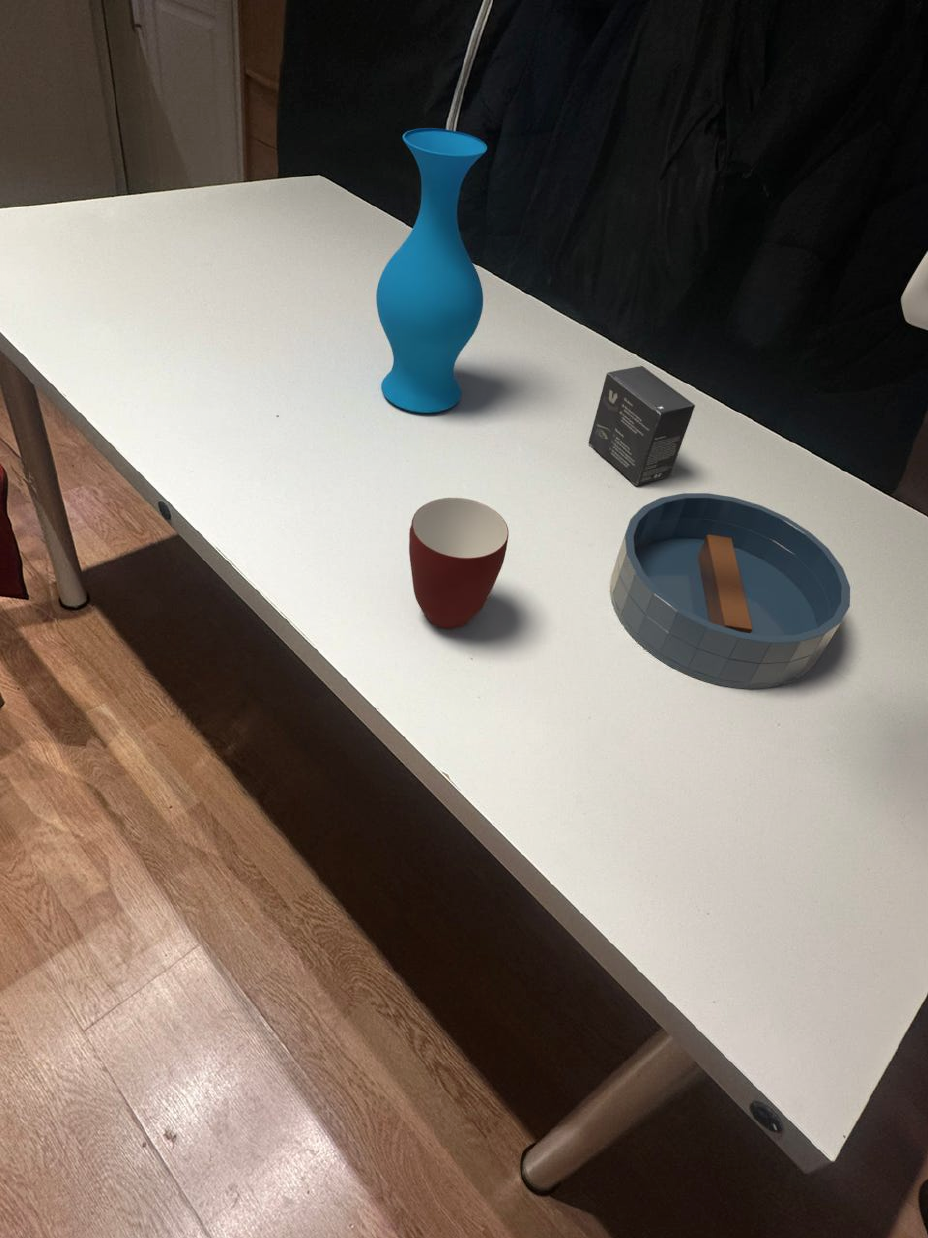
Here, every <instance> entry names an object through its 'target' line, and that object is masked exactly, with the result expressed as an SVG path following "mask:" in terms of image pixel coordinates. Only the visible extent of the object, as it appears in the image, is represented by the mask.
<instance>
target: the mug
mask: <svg viewBox="0 0 928 1238" xmlns="http://www.w3.org/2000/svg"><path fill="white" fill-rule="evenodd" d="M508 541H509V527H508V525H507V522H506V521H505V519H504V517H502V515H501V514H500V513H498V512H497V511H496V510H495V509H493V508H492V507H490V506H488V505H487V504H484V503H482V502H479V501H476V500H473V499H468V498H463V497H443V498H438V499H434V500H431V501H429V502H426V503H425V504H423V505H422V506H420V507H419V508H418V509H417V510H416V511H415V513H414V514H413V516H412V519H411V524H410V527H409V535H408V554H409V564H410V572H411V580H412V588H413V593H414V594H413V595H414V597H415V600H416V603H417V604H418V606H419V608H420V610H421V611H422V613H423V615H424V616H425V618H426V619H427V620H428V621H429V622H430V623H431V624H432V625H433V626H435V627H437V628H440V629H444V630H456V629H459V628H462V627H464V626H465V625H467V624H468V623H469V622H470V621H471V620H473V619H474V618H475V617H476V616H477V615H478V614H479V613H480V611H481V610H483V608H484V606H485V605H486V603H487V601H488V599H489V597H490V595H491V592H492V590H493V588H494V586H495V583H496V581H497V579H498V577H499V574H500V573H501V569H502V567H503V564H504V561H505V557H506V553H507V547H508V543H509V542H508Z"/></svg>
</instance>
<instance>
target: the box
mask: <svg viewBox="0 0 928 1238" xmlns="http://www.w3.org/2000/svg"><path fill="white" fill-rule="evenodd" d="M695 409H696V405H695V404H694V403H693V402H692V401H691V400H689V399H688V398H686V397H685V396H683V395H682V394H681V393H680V392H678V391H677V390H675V389H674V388H673V387H672V386H670V385H669V384H667V383H666V382H665V381H664V380H662V379H661V378H660V377H658V376H657V375H655V374H654V373H653V372H651V371H650V370H649V369H647V368H646V367H645V366H643V365H640V366H633V367H628V368H623V369H618V370H613V371H609V372H606V376H605V379H604V383H603V387H602V391H601V394H600V397H599V402H598V405H597V409H596V413H595V416H594V420H593V424H592V427H591V431H590V435H589V439H588V443H587V444H588V446H589V447H590V448H592V449H594V450H595V451H597V453H598V454H600V455H601V456H602V457H603V458H604V459H605V460H606V461H608V462H609V463H610V464H611V465H612V466H613V467H615V468H616V469H617V471H619V472H620V473H621V474H623V476H624V477H626V478H627V479H628V480H629V481H630V482H631V484H633V485H634V486H640V485H642V484H646V483H649V482H650V483H651V482H654V481H657V480H661V479H664V478H668V477H670V476H671V475H672V471H673V469H674V466H675V464H676V461H677V458H678V455H679V452H680V449H681V447H682V444H683V441H684V439H685V436H686V433H687V430H688V427H689V424H690V422H691V419H692V417H693V412H694V410H695Z"/></svg>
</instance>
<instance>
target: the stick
mask: <svg viewBox="0 0 928 1238" xmlns="http://www.w3.org/2000/svg"><path fill="white" fill-rule="evenodd" d="M698 561H699V567H700V572H701V578H702V583H703V589H704V595H705V600H706V606H707V611H708V617H709V622H711V623H714V624H718V625H721V626H724V627H727V628H730V629H733V630H736V631H739V632H745V633H751V631H752V624H751V620H750V616H749V611H748V607H747V603H746V598H745V594H744V590H743V585H742V581H741V577H740V572H739V568H738V564H737V559H736V555H735V551H734V546H733V542H732V538H728V537H722V536H715V535H709V534H707V536H706V538H705V541H704V543H703V546H702V548H701V550H700V553H699V555H698Z"/></svg>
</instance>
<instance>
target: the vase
mask: <svg viewBox="0 0 928 1238" xmlns="http://www.w3.org/2000/svg"><path fill="white" fill-rule="evenodd" d="M402 140H403V142H404V143H405V145H406V146H407V148H408V149H409V151H410V153H411V154H412V155H413V157H414V159H415V160H414V161H415V162H416V164H417V167H418V170H419V173H420V174H419V175H420V180H421V198H420V207H419V211H418V215H417V218H416V220H415V223H414V225H413V227H412V229H411V231H410V233H408V236H407V237H406V239H405V240H404V242H403V243H402V244H401V246H399V248H398V249H397V250H396V251H395V252H394V254H392V256H391V258H390V259H389V260H388V261H387V263H386V265H385V266H384V268H383V270H382V272H381V274H380V277H379V279H378V283H377V287H376V297H375V298H376V299H375V300H376V301H375V302H376V310H377V315H378V319H379V322H380V325H381V327H382V329H383V330H382V331H383V332H384V335H385V336H386V339H387V341H388V343H389V346H390V348H391V352H392V357H393V362H392V367H391V370H390V371H389V372H388V373H387V374H386V375H385V376H384V378H383V379H382V381H381V384H380V390H381V392H382V395H383V396H384V397H385V398H386V399H387V400H388V401H389V402H391V403H392V404H393V405H394V406H397V407H398V408H400V409H403V410H405V411H409V412H413V413H421V414H432V413H433V414H434V413H440V412H443V411H446V410H448V409H450V408H453V407H454V406H455V405H457V404H458V402H459V401H460V400H461V397H462V390H461V387H460V385H459V383H458V381H457V380H456V378H455V373H454V372H455V366H456V365H455V364H456V363H457V360H458V358H459V356H460V354H461V353H462V351H463V350H464V348H466V346H467V344H468V343H469V341H470V340H471V338H472V337H473V335H474V334H475V332H476V330H477V329H478V326H479V323H480V320H481V317H482V313H483V310H484V309H483V308H484V291H483V286H482V283H481V282H482V281H481V279H480V276H479V273H478V270H477V269H476V267H475V264H474V263H473V261H472V259H471V258H470V257H471V256H470V255H469V254H468V251H467V250H466V247H465V244H464V242H463V239H462V236H461V233H460V229H459V223H458V203H459V196H460V191H461V187H462V184H463V182H464V179H465V177H466V176H467V173H468V172H469V170H470V168H472V166H473V165H474V164H475V162H476V161H478V159H480V158H481V157H482V156H483V155H484V154H485V153H486V152H487V150H488V146H487V144H486V143H485V142H484V141H482V139H479V138H478V137H475V136H473V135H472V134H471V135H470V134H468V133H464V132H460V131H457V130H451V129H445V128H436V127H435V128H433V127H424V128H422V127H421V128H416V129H411V130H408V131H406V132H405V133H403V135H402Z"/></svg>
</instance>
